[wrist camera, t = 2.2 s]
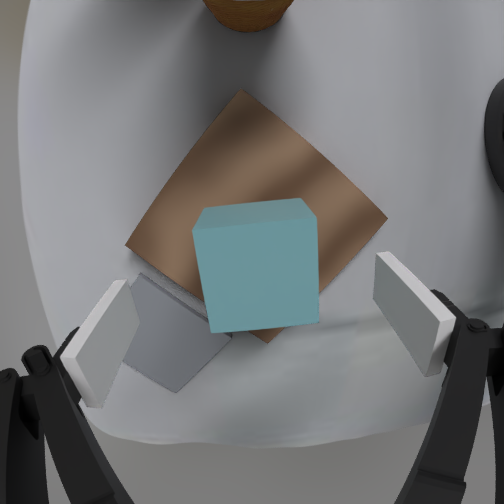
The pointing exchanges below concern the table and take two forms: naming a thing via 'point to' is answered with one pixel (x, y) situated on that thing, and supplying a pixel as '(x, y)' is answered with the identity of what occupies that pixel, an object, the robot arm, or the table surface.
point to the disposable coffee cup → (248, 13)
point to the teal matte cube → (258, 265)
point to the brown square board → (253, 194)
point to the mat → (169, 337)
